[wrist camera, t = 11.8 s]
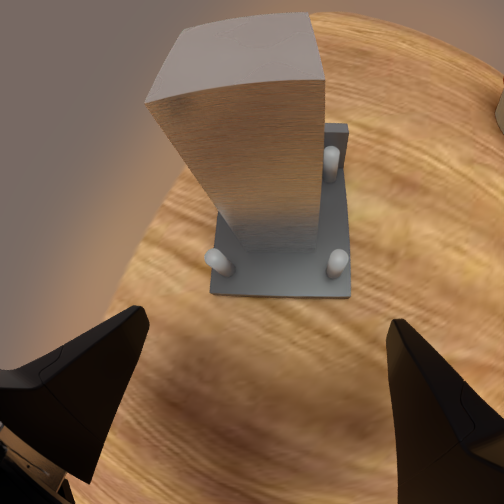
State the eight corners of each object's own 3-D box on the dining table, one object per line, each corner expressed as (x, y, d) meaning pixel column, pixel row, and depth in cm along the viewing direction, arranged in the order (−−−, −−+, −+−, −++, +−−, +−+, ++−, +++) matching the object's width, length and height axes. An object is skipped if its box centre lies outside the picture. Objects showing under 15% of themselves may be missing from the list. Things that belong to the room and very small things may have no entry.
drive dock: (348, 298, 17) (364, 285, 12) (214, 295, 19) (184, 281, 14) (340, 167, 20) (347, 123, 15) (227, 169, 21) (208, 130, 17)
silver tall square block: (315, 252, 17) (325, 79, 5) (247, 252, 18) (144, 103, 6) (313, 191, 18) (307, 12, 6) (251, 192, 19) (183, 29, 7)
